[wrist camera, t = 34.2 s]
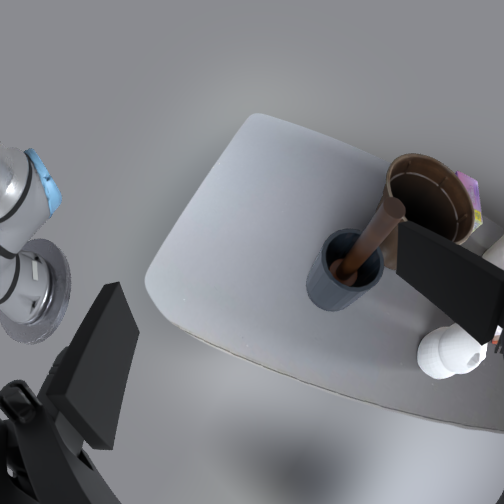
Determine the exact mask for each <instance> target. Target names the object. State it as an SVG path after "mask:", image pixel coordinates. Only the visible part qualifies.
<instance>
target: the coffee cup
mask: <svg viewBox="0 0 504 504" xmlns="http://www.w3.org/2000/svg"><path fill="white" fill-rule="evenodd" d="M482 258H483V259H485V260H487V261H489V262H490V263H492V264H494V265H496V266H497V267H499V268H501V269H502V270H504V235H503V236H502V237H501V238H500V239H499V240H498V241H497V242H496V243H494V244H493V245H492V246H491V247H490V248H489V249H488V250H487V251H486V252H485V253H484V254H483V256H482Z"/></svg>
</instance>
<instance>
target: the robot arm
mask: <svg viewBox="0 0 504 504" xmlns="http://www.w3.org/2000/svg"><path fill="white" fill-rule="evenodd" d="M61 201H62V196H61V193H60V191H59V189H58V187H57V185H56V184H55V182H54V181H53V179H52V177H51V176H50V175H49V173H48V171H47V169H46V167H45V166H44V164H43V163H42V161H41V160H40V158H39V156H38V155H37V154H36V152H35V151H34V149H32V148H29V149H28V150H25V151H24V152H22V151H21V150H20V149H18V148H7V149H6V148H5V147H4V145H2V143H1V142H0V310H1V311H2V312H3V313H4V314H5V315H7V317H9V318H10V319H11V320H12V321H14V322H17V323H20V324H29V323H32V322H34V321H35V320H36V319H37V318H38V317H39V316H40V315H41V314H42V313H43V311H44V309H45V308H46V305H47V303H48V301H49V298H50V294H51V288H52V275H51V270H50V267H49V265H48V263H47V261H46V260H45V259H44V258H43V257H41V256H40V255H38V254H37V253H35V252H30V251H24V250H21V249H22V247H23V246H24V245H25V244H26V243H27V242H28V240H29V239H30V238H31V237H32V236H33V235H34V234H35V233H36V232H37V230H38V229H39V228H40V227H41V226H42V225H43V224H44V223H45V222H46V221H47V220H48V219H49V218H50V217H51V216H52V214H53V212H54V211H55V210H56V209H57V208H58V207H59V206H60V204H61ZM396 274H397V275H399V276H400V277H401V278H402V279H404V280H405V281H406V282H408V283H409V284H410V285H411V286H413V287H414V288H415V289H416V290H418V291H419V292H420V293H421V294H422V295H424V296H425V297H426V298H427V299H429V300H430V301H431V302H432V303H433V304H435V305H436V306H437V307H438V308H439V309H441V310H442V311H443V312H444V313H445V314H446V315H448V316H449V317H450V318H451V319H452V320H453V321H455V322H456V323H457V324H458V325H459V326H460V327H461V328H463V329H464V330H465V331H466V332H467V333H468V334H469V335H470V336H472V337H473V338H474V339H475V340H476V341H477V342H478V343H479V344H480V345H481V346H483V345H484V344H486V343H487V342H489V341H490V340H492V339H493V338H494V335H495V332H496V329H497V327H498V326H499V327H501V328H502V332H501V334H500V337H499V340H498V342H497V345H496V347H495V352H494V353H497V351H498V349H499V347H501V346H502V348H501V351H500V353H502V354H503V358H504V270H502V269H501V268H499V267H497V266H496V265H494V264H492V263H490V262H489V261H487V260H485V259H483V258H482V257H480V256H478V255H476V254H474V253H473V252H471V251H469V250H467V249H465V248H463V247H462V246H460V245H458V244H456V243H454V242H452V241H450V240H448V239H446V238H444V237H442V236H440V235H438V234H436V233H434V232H432V231H430V230H428V229H426V228H424V227H422V226H420V225H418V224H416V223H414V222H412V221H405V222H400V223H398V246H397V268H396ZM138 336H139V330H138V327H137V325H136V323H135V320H134V318H133V316H132V313H131V311H130V308H129V306H128V303H127V301H126V298H125V296H124V293H123V290H122V288H121V285H120V282H115V283H110V284H106V285H104V286H103V288H102V290H101V291H100V293H99V294H98V296H97V298H96V299H95V301H94V303H93V304H92V306H91V308H90V310H89V311H88V313H87V315H86V316H85V318H84V320H83V322H82V323H81V325H80V327H79V329H78V330H77V332H76V334H75V336H74V338H73V340H72V341H71V343H70V345H69V347H65V348H64V349H63V350H62V351H61V353H60V354H59V355H58V356H57V358H56V359H55V361H54V363H53V367H51V369H50V371H49V375H47V377H46V379H45V381H44V383H43V385H42V387H41V389H40V391H39V393H38V395H37V397H36V396H35V394H34V393H33V392H32V390H31V389H30V388H29V386H28V385H27V384H26V382H25V381H23V380H14V381H12V382H10V383H8V384H7V385H6V386H4V387H3V389H2V390H1V391H0V409H1V410H2V411H3V412H4V414H5V415H6V416H7V417H8V418H9V419H8V420H3V421H2V420H1V419H0V504H121V503H120V501H119V500H118V499H117V498H116V496H115V495H114V493H113V492H112V491H111V489H110V488H109V486H108V485H107V484H106V482H105V481H104V479H103V478H102V476H101V475H100V473H99V472H98V470H97V469H96V467H95V466H94V464H93V463H92V461H91V459H90V458H89V456H88V454H87V453H86V452H85V451H84V450H83V449H82V445H83V441H84V440H85V441H86V442H87V443H88V444H89V445H90V446H91V447H92V448H93V449H99V450H113V445H114V439H115V434H116V429H117V424H118V419H119V414H120V409H121V404H122V400H123V395H124V391H125V387H126V383H127V378H128V374H129V370H130V366H131V363H132V359H133V355H134V350H135V347H136V343H137V340H138ZM7 467H8V468H10V469H11V470H12V471H13V477H11V476H10V475H9V474H8V472H7ZM496 504H504V491H503V493H502V495H501V496H500V498H499V500H498V501H497V503H496Z"/></svg>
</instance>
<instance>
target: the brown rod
mask: <svg viewBox="0 0 504 504" xmlns="http://www.w3.org/2000/svg"><path fill="white" fill-rule="evenodd" d="M404 215H405V207H404V205H403V203H402V202H401V201H400V200H399V199H397V198H395V197H388V198H386V199H385V200H384V201H383V203H382V204H381V206H380V207H379V209H378V210H377V212H376V213H375V215H374V216H373V218H372V219H371V221H370V222H369V224H368V225H367V227H366V228H365V230H364V231H363V232H362V234H361V235H360V237H359V238H358V240H357V241H356V242H355V244H354V245H353V247H352V248H351V249H350V251H349V252H348V254H347V255H346V256H345V258H344V259H338V260H336V261H334V262H333V263H332V264H331V266H330V267H329V271H330V272H331V274H332V275H333V277H334V278H335V279H337V280H338V281H339V282H340V283H342V284H344V285H347V286H349V287H351V286H352V285H353V284H354V283H355V281H356V279H357V270H358V269H359V267H360V266H361V265H362V264H363V263H364V262H365V261H366V260H367V259H368V258H369V256H370V255H371V254H372V253H373V252H374V251H375V250H376V249H377V247H378V246H379V245H380V244H381V243H382V242H383V241H384V239H385V238H386V237H387V236H388V235H389V234H390V232H391V231H392V230H393V229H394V228H395V226H396V225H397V224H398V223H399V222H400V220H401V219H402V218H403V217H404Z"/></svg>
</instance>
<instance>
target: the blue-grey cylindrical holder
mask: <svg viewBox="0 0 504 504" xmlns="http://www.w3.org/2000/svg"><path fill="white" fill-rule="evenodd" d="M361 234H362V231H359V230H356V229H343V230H338V231H336V232H335V233H333V234H331V235H330V236H329V237H328V239H327V240H326V241H325V243H324V244H323V246H322V248H321V250H320V252H319V254H318V256H317V258H316V260H315V262H314V264H313V266H312V268H311V270H310V272H309V274H308V277H307V281H306V289H307V293H308V296H309V298H310V299H311V301H312V302H313V303H314V304H315V305H316V306H317V307H319V308H321V309H323V310H326V311H332V312H334V311H340V310H343V309H344V308H346V307H347V306H349V305H350V304H352V303H353V302H354V301H356V300H357V299H358V298H359V297H361V296H362V295H363V294H365V293H366V292H367V291H368V290H370V289H371V288H372V287H373V286H375V285H376V284H377V283H378V281H379V280H380V278H381V277H382V274H383V269H384V258H383V254H382V252H381V249H380V247H379V246H378V247H377V249H376V250H375V251H374V252H373V253H372V254H371V255H370V256H369V258H368V259H367V260H366V261H365V262H364V263H363V264H362V265H361V266H360V267H359V269H358V270H357V279H356V281H355V283H354V284H353V285H352V286H351V287H349V286H347V285H344V284H342V283H340V282H339V281H338V280H337V279H335V278H334V277H333V275H332V274H331V272H330V271H329V267H330V266H331V264H332V263H333V262H334V261H336V260H338V259H344V258H345V256H346V255H347V254H348V252H349V251H350V249H351V248H352V247H353V245H354V244H355V242H356V241H357V240H358V238H359V237H360V235H361Z"/></svg>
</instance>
